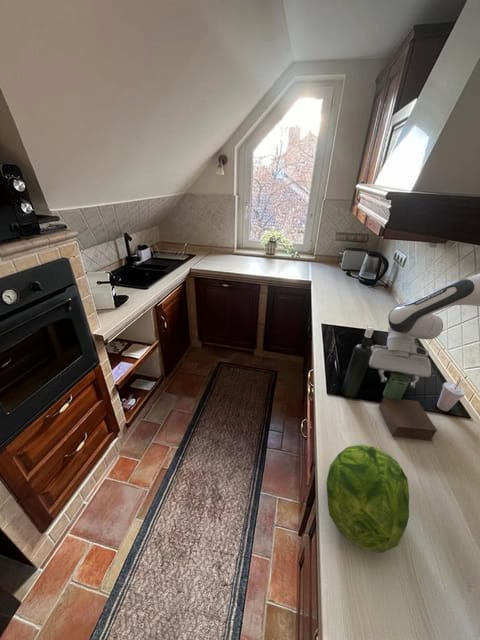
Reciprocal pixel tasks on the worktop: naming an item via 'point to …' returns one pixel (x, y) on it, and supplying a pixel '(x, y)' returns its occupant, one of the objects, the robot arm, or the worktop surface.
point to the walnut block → (406, 419)
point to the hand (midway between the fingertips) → (397, 384)
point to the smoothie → (450, 395)
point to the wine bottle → (357, 366)
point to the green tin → (396, 385)
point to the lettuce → (368, 497)
